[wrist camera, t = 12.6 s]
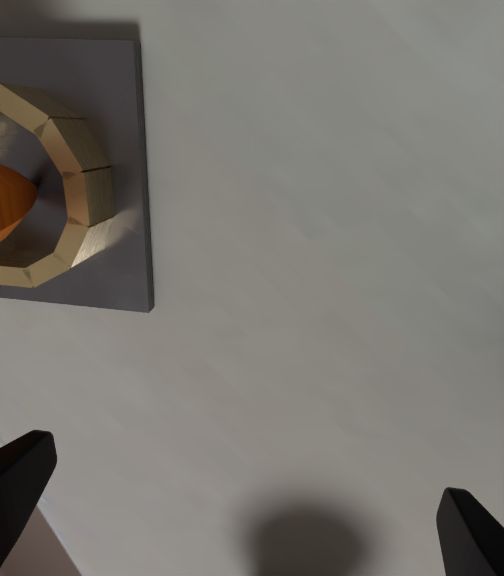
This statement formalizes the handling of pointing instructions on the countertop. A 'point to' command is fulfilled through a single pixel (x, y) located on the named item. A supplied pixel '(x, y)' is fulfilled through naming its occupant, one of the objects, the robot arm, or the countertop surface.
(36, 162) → the collar plate
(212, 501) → the countertop surface
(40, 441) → the robot arm
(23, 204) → the carrot
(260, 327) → the countertop surface
